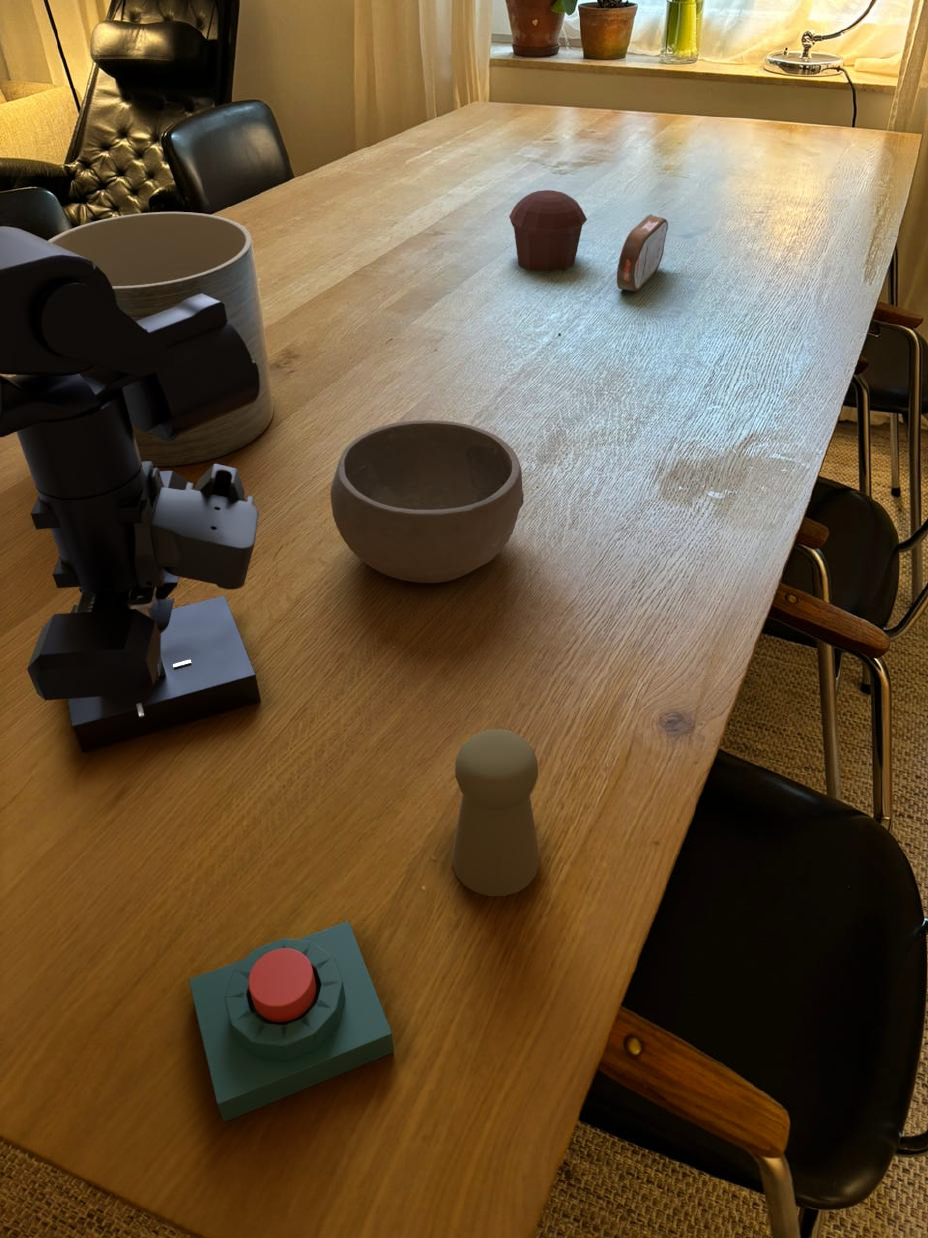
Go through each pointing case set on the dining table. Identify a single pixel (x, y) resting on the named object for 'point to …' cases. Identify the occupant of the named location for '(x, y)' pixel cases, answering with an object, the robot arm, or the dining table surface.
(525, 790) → the brown pawn
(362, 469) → the bowl
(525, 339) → the dining table surface
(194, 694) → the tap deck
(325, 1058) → the button block
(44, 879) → the dining table surface
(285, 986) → the button
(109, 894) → the dining table surface
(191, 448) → the planter
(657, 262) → the tin
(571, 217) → the muffin
